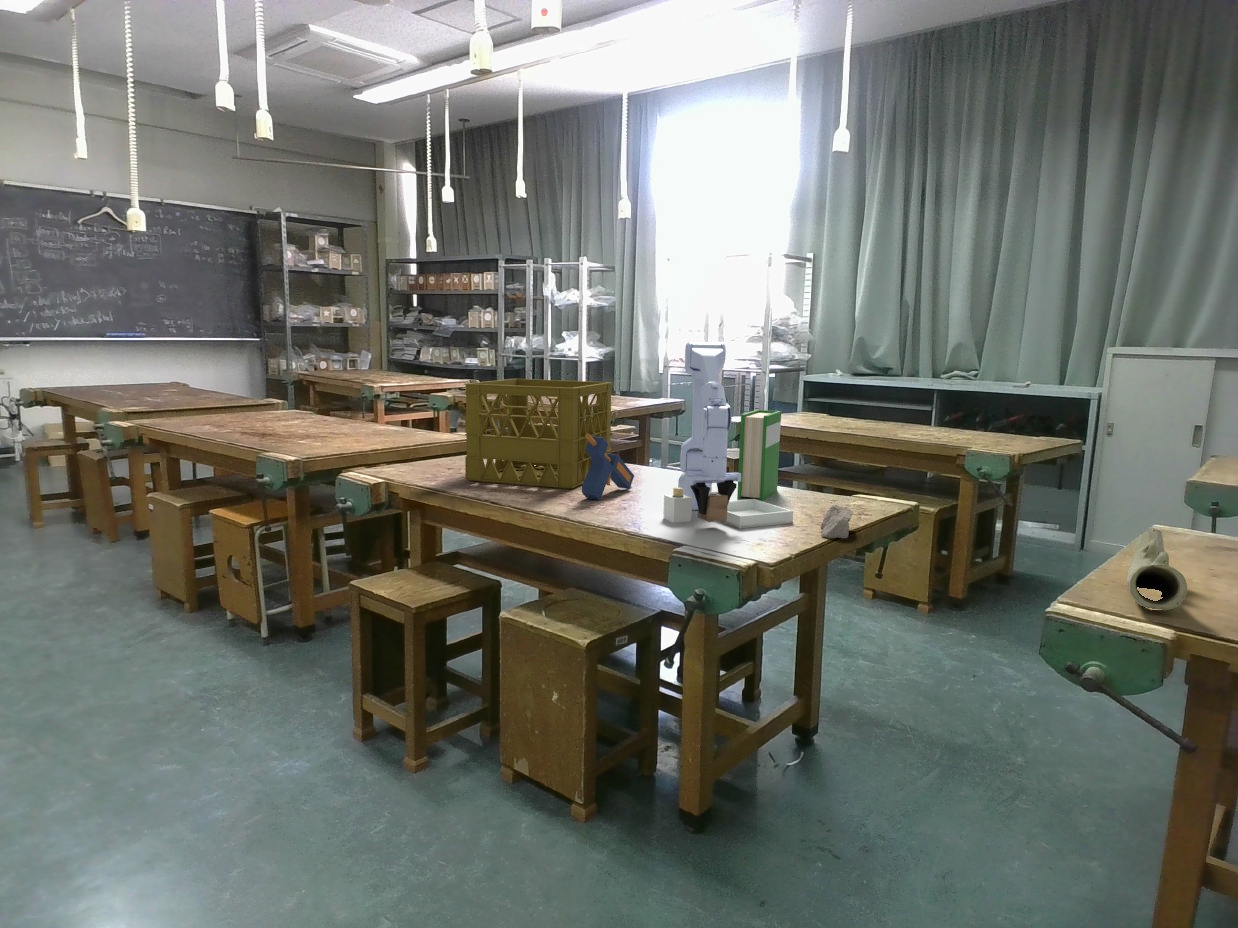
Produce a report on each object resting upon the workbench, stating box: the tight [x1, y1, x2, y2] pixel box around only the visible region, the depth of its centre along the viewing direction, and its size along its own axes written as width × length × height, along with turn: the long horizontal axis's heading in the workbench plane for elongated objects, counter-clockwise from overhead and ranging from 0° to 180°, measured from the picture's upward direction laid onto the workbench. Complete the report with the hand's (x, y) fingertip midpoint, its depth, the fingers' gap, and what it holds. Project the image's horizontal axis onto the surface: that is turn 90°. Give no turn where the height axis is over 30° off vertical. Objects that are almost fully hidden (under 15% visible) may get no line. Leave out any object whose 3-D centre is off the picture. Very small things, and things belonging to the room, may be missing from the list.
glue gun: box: [581, 434, 635, 501], centre depth 224 cm, size 6×31×15 cm
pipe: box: [1126, 528, 1188, 611], centre depth 145 cm, size 28×8×10 cm, turn 154°
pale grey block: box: [663, 486, 692, 524], centre depth 197 cm, size 5×5×8 cm
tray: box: [720, 498, 794, 530], centre depth 200 cm, size 16×16×3 cm
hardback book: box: [736, 409, 782, 502], centre depth 230 cm, size 18×7×24 cm, turn 156°
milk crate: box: [464, 378, 613, 490], centre depth 252 cm, size 36×35×30 cm
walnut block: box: [697, 491, 728, 523], centre depth 188 cm, size 5×5×6 cm
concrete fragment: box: [820, 504, 854, 539], centre depth 187 cm, size 7×14×6 cm, turn 158°
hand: (712, 512), depth 189 cm, fingers closed on walnut block, 5 cm apart
